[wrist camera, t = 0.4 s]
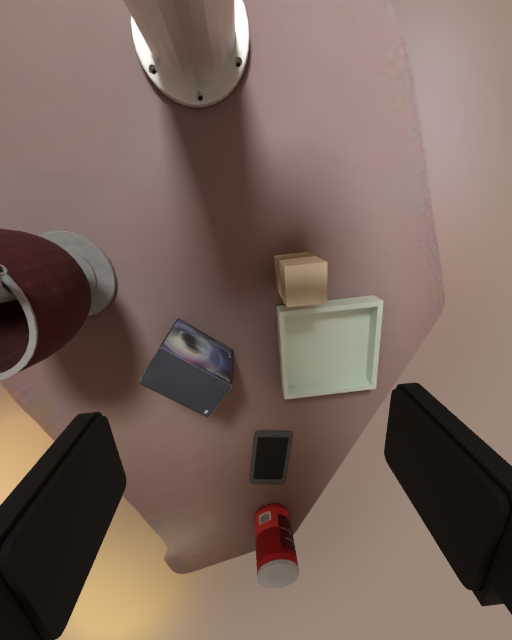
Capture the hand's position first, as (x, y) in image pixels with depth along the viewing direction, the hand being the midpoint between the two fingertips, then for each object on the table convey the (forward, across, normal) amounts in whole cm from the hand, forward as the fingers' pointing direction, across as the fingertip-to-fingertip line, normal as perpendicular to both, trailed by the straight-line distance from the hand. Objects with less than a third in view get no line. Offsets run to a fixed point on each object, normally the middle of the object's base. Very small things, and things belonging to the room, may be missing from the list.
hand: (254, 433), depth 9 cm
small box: (+33, +8, +12) cm, 36 cm away
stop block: (+33, -7, +1) cm, 34 cm away
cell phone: (+34, -2, +38) cm, 51 cm away
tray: (+33, -13, +14) cm, 38 cm away
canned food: (+34, -2, +55) cm, 65 cm away
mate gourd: (+33, +24, -2) cm, 40 cm away
